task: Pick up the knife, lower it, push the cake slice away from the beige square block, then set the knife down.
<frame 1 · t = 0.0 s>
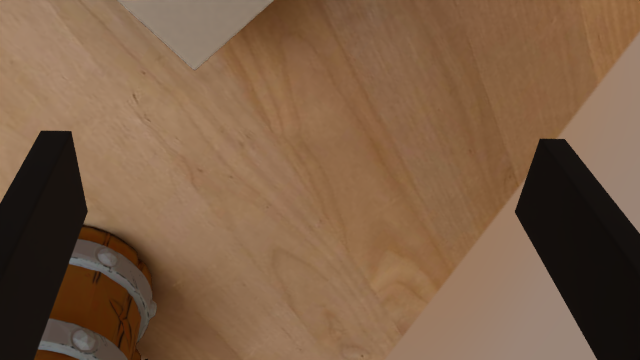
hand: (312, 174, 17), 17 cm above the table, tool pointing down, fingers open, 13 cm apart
mug: (95, 299, 43), on the table
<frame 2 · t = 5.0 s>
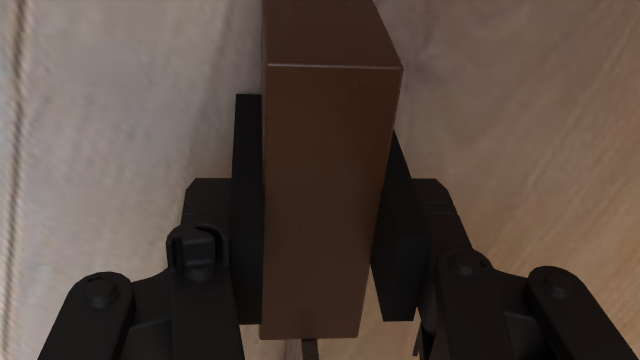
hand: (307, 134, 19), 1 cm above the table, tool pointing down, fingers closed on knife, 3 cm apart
knife: (306, 125, 19), on the table, touching gripper
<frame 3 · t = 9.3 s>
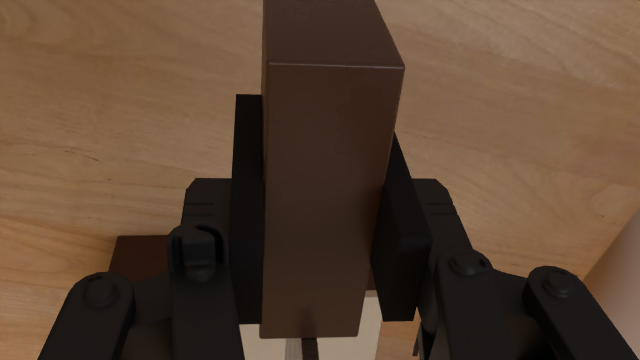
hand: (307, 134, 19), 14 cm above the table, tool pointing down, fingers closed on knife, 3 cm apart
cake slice: (160, 287, 42), on the table
beige square block: (292, 284, 43), on the table
knife: (307, 124, 19), point 14 cm above the table, touching gripper
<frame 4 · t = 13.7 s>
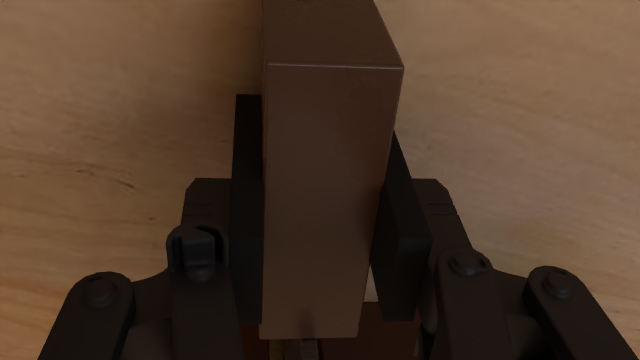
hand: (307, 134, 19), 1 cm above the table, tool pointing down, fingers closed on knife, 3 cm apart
knife: (306, 125, 19), on the table, touching gripper
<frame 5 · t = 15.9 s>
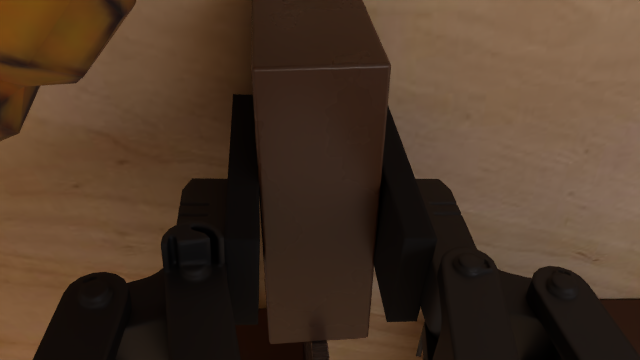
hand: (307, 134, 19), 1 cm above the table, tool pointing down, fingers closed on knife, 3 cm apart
knife: (306, 128, 19), on the table, touching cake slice, gripper
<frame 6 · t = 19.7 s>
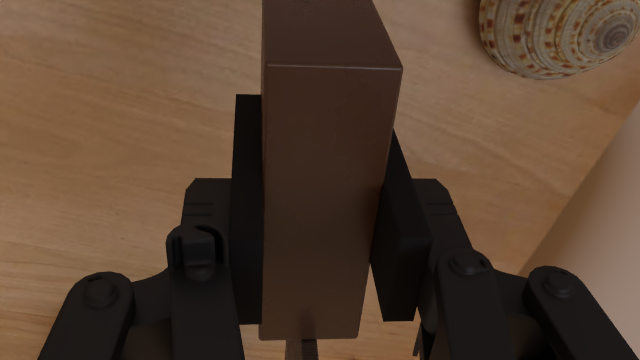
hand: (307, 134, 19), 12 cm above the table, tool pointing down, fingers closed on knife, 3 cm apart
knife: (306, 126, 19), point 11 cm above the table, touching gripper
when the fingers open (1 cm above the table, at t = 22.4 s): knife stays where it is, on the table.
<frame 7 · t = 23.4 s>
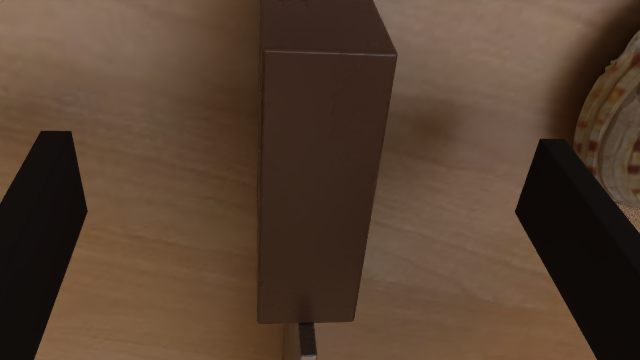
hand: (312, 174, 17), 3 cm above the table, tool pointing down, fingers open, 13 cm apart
knife: (303, 114, 19), on the table
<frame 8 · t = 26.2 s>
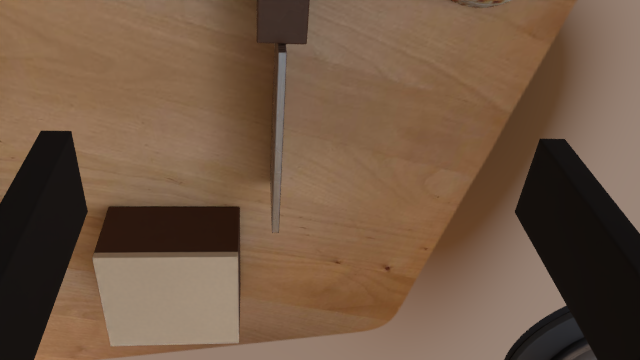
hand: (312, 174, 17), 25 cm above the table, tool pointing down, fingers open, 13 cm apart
beige square block: (179, 251, 51), on the table
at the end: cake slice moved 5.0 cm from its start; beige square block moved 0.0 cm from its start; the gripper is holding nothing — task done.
